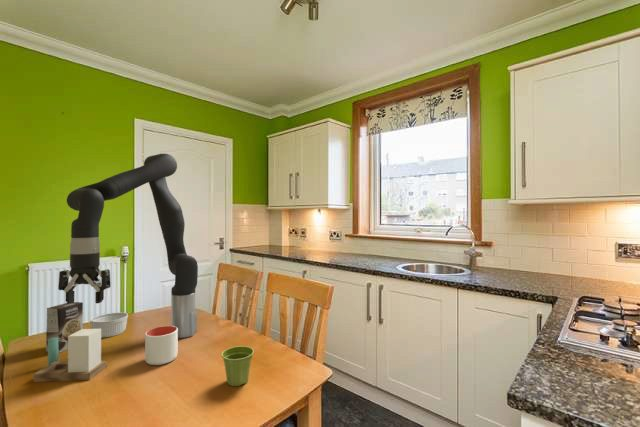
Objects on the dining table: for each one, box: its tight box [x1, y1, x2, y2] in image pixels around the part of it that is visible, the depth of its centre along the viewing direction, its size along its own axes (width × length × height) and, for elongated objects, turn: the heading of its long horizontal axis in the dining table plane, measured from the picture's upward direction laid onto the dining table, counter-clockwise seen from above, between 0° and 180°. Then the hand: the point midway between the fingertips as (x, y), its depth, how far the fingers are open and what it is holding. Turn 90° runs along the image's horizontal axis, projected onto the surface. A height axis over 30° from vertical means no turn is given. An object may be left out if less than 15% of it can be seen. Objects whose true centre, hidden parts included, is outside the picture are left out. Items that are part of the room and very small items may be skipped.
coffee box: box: [45, 301, 84, 354], centre depth 117 cm, size 9×6×16 cm
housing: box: [67, 328, 102, 372], centre depth 97 cm, size 6×6×11 cm
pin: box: [47, 337, 59, 366], centre depth 102 cm, size 3×3×9 cm
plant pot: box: [220, 345, 255, 387], centre depth 93 cm, size 9×9×9 cm
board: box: [61, 360, 107, 382], centre depth 97 cm, size 8×8×11 cm
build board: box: [33, 360, 68, 383], centre depth 97 cm, size 8×8×2 cm
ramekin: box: [89, 312, 129, 339], centre depth 131 cm, size 13×13×7 cm
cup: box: [144, 325, 179, 366], centre depth 107 cm, size 10×10×10 cm
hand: (84, 303), depth 98 cm, fingers open, 8 cm apart
